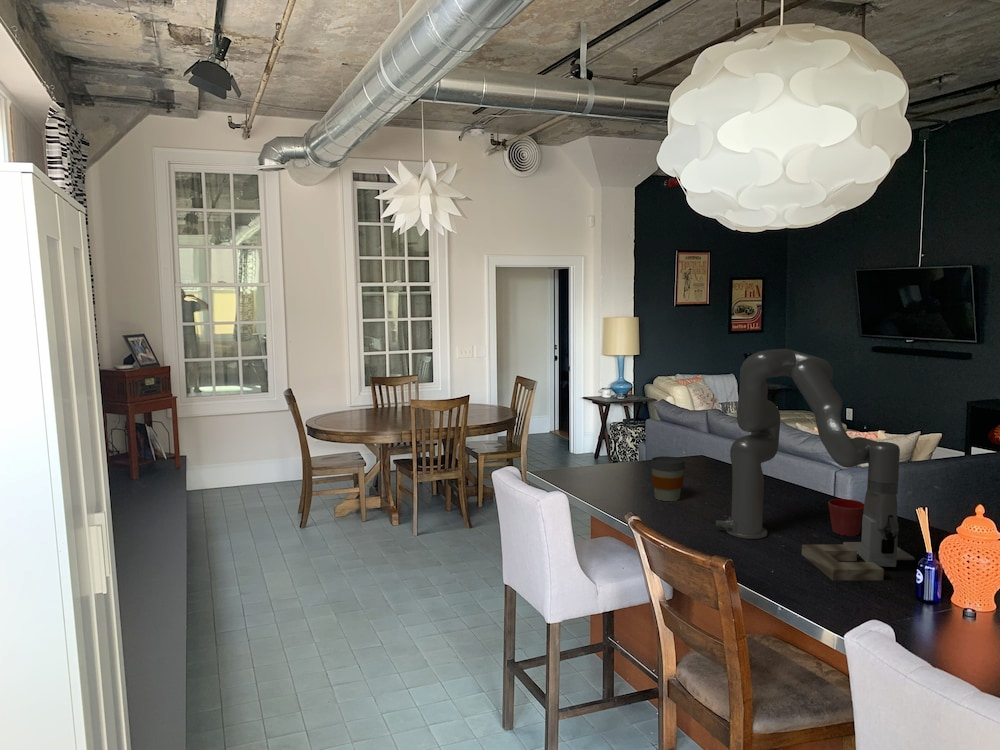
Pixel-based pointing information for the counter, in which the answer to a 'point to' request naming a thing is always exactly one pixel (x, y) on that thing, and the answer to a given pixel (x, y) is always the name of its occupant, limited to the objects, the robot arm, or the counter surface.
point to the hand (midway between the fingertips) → (879, 547)
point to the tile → (900, 553)
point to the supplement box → (876, 544)
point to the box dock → (829, 565)
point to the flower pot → (846, 516)
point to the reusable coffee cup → (667, 477)
